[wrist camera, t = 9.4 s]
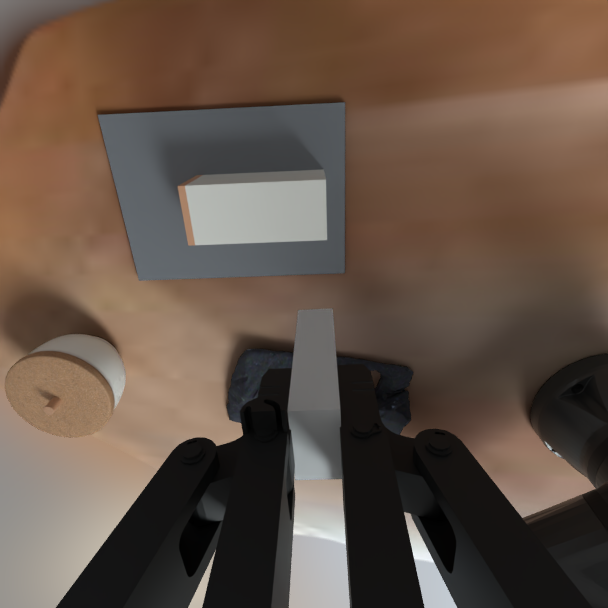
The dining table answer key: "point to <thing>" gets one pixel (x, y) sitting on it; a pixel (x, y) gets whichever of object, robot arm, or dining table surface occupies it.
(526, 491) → the dining table surface
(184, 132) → the mat
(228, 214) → the block
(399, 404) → the dark slate chunk
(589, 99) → the dining table surface
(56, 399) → the lidded jar
